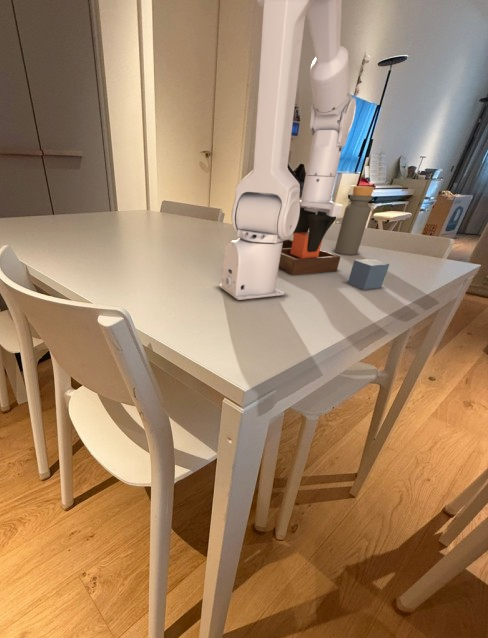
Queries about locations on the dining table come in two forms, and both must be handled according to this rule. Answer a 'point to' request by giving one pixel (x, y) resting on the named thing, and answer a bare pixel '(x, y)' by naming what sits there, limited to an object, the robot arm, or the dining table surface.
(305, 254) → the terracotta block
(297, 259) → the tray
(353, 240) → the bottle
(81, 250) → the dining table surface
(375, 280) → the blue block
